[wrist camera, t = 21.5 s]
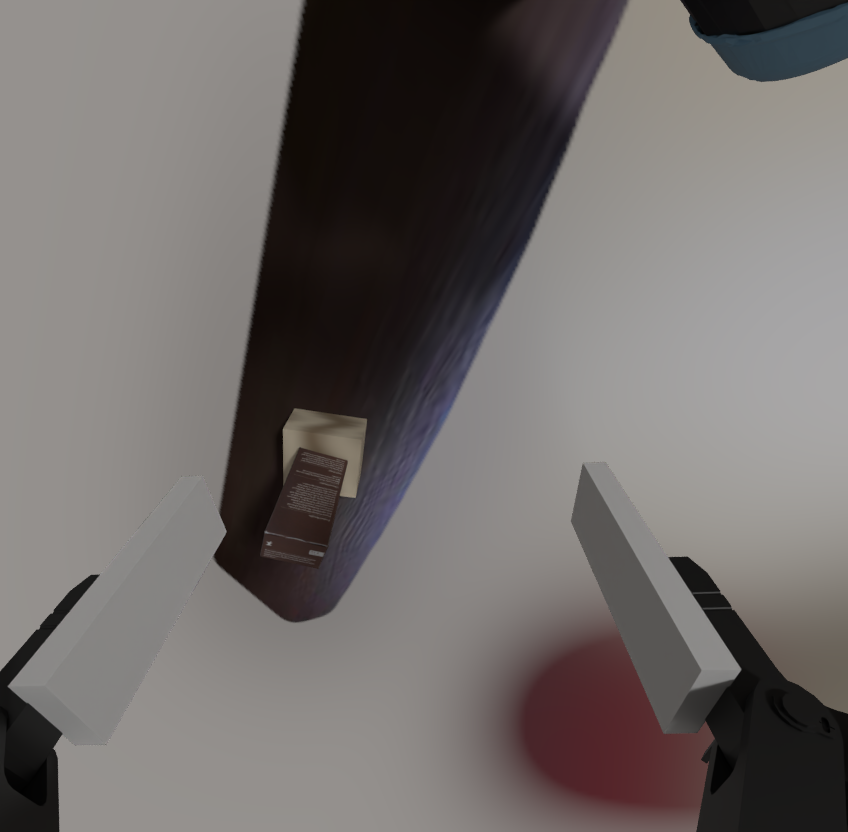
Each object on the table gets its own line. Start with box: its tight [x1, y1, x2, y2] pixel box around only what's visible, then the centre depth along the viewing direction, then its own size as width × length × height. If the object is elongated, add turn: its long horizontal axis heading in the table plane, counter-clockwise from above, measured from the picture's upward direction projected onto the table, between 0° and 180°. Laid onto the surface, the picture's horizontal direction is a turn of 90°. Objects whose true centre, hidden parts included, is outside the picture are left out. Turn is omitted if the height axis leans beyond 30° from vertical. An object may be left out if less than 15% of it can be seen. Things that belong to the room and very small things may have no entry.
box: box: [260, 447, 348, 569], centre depth 42 cm, size 6×4×12 cm
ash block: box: [283, 408, 367, 498], centre depth 49 cm, size 9×9×5 cm
